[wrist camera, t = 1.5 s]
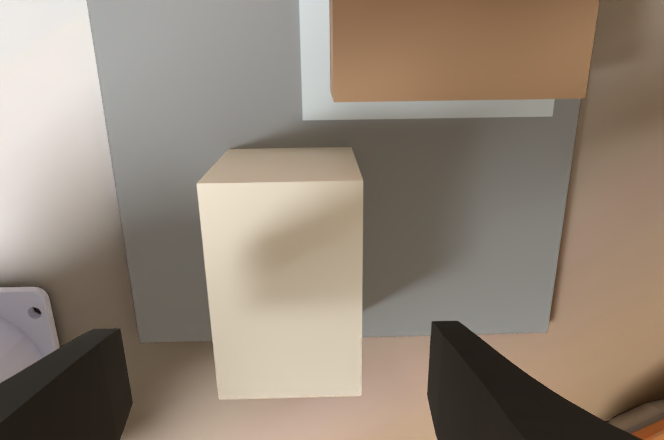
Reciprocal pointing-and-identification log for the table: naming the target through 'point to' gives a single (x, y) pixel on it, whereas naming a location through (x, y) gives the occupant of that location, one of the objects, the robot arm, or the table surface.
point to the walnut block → (460, 49)
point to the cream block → (284, 271)
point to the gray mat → (326, 131)
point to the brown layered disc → (643, 421)
